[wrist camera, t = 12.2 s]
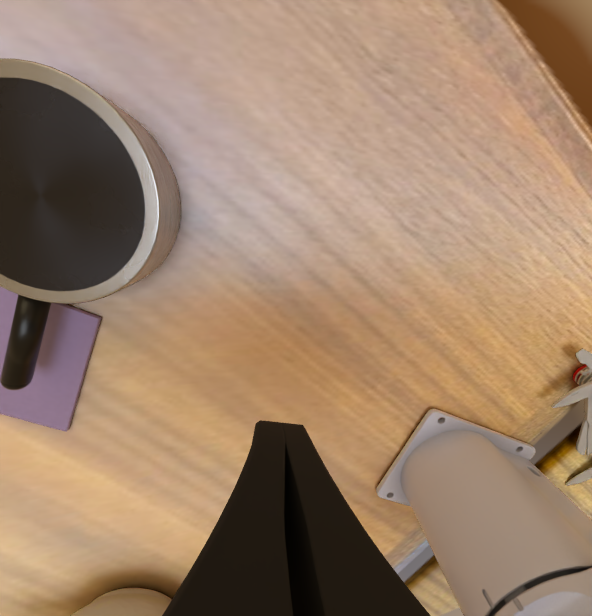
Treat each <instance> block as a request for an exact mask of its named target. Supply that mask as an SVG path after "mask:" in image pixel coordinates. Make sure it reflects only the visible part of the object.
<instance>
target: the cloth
mask: <svg viewBox="0 0 592 616" xmlns="http://www.w3.org/2000/svg"><path fill="white" fill-rule="evenodd" d="M17 298H18V294H16V293H13V292H11V291H9V290H6V289H4V288H2V287H0V378H1V373H2V368H3V364H4V359H5V354H6V350H7V345H8V340H9V336H10V331H11V326H12V322H13V317H14V312H15V308H16V303H17ZM101 318H102V317H100V316H97V315H94V314H91V313H88V312H85V311H83V310H80V309H77V308H74V307H71V306H69V305H66V304H62V303H51V306H50V310H49V314H48V319H47V323H46V327H45V331H44V335H43V339H42V343H41V347H40V351H39V355H38V359H37V363H36V367H35V371H34V375H33V379H32V381H31V383H30V384H29V385H28V386H26V387H25V388H23V389H20V390H8V389H6V388H4V387H3V386H2V385H1V382H0V414H3V415H7V416H10V417H14V418H18V419H21V420H25V421H29V422H33V423H36V424H40V425H44V426H47V427H51V428H55V429H58V430H62V431H67V430H68V429H69V428H70V424H71V421H72V417H73V414H74V411H75V407H76V404H77V400H78V397H79V393H80V390H81V387H82V383H83V380H84V376H85V373H86V369H87V366H88V363H89V359H90V356H91V352H92V349H93V345H94V342H95V339H96V335H97V332H98V328H99V325H100V321H101Z"/></svg>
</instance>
